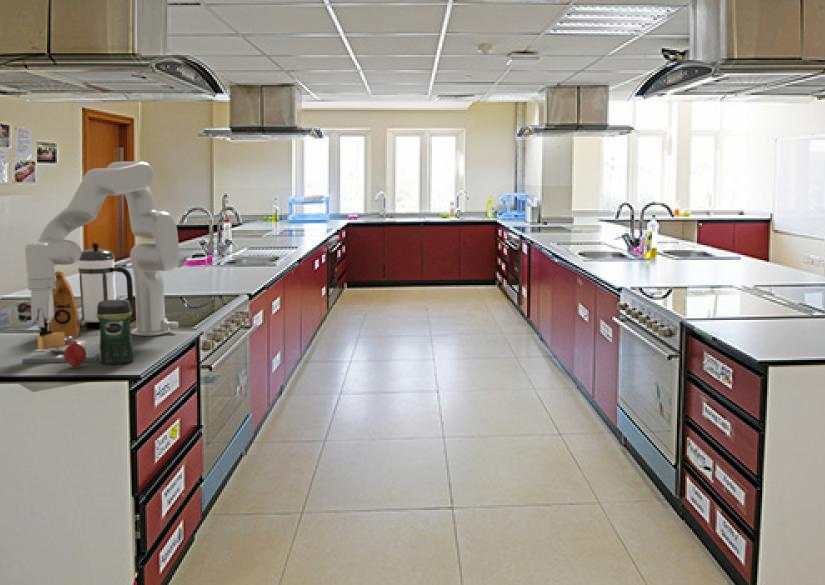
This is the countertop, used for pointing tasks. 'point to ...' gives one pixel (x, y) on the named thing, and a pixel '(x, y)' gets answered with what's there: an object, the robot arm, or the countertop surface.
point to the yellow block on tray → (57, 342)
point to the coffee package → (64, 308)
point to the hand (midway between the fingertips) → (46, 343)
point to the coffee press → (98, 281)
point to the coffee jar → (115, 332)
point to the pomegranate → (75, 354)
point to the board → (61, 355)
